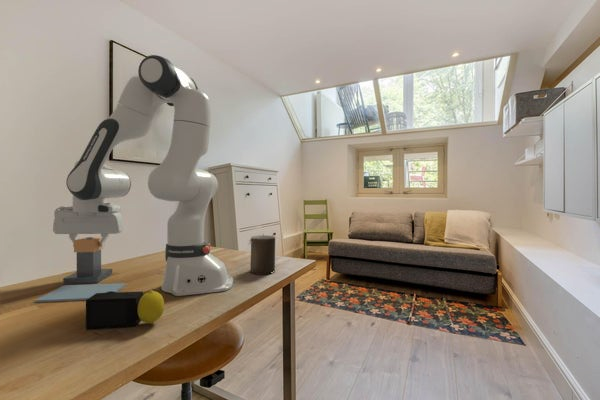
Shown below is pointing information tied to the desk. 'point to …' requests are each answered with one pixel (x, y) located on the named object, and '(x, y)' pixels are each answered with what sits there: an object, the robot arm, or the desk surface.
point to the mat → (79, 292)
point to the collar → (87, 245)
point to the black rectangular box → (112, 310)
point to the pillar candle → (262, 254)
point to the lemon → (150, 307)
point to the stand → (88, 268)
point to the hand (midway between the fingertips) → (89, 246)
